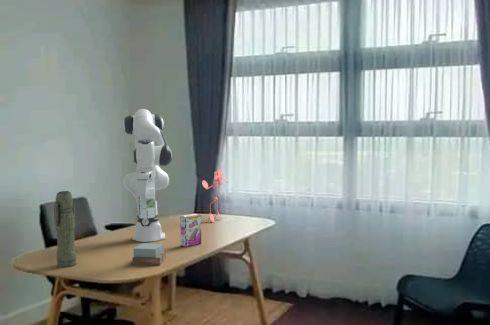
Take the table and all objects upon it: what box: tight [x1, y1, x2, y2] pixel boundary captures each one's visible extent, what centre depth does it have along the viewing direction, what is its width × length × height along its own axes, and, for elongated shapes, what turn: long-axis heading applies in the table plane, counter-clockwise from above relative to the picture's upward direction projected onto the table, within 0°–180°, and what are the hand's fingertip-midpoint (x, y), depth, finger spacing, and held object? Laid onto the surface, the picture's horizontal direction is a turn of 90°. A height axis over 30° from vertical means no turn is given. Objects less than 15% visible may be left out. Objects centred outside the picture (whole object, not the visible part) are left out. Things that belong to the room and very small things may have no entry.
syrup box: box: [139, 188, 156, 219], centre depth 263 cm, size 6×6×14 cm
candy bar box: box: [179, 213, 202, 248], centre depth 298 cm, size 11×5×16 cm, turn 135°
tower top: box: [133, 242, 164, 258], centre depth 265 cm, size 11×11×4 cm
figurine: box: [201, 168, 229, 224], centre depth 365 cm, size 15×26×35 cm, turn 152°
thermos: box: [53, 190, 78, 268], centre depth 260 cm, size 9×12×35 cm
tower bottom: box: [132, 250, 167, 266], centre depth 265 cm, size 13×13×4 cm
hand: (147, 202), depth 263 cm, fingers closed on syrup box, 7 cm apart
